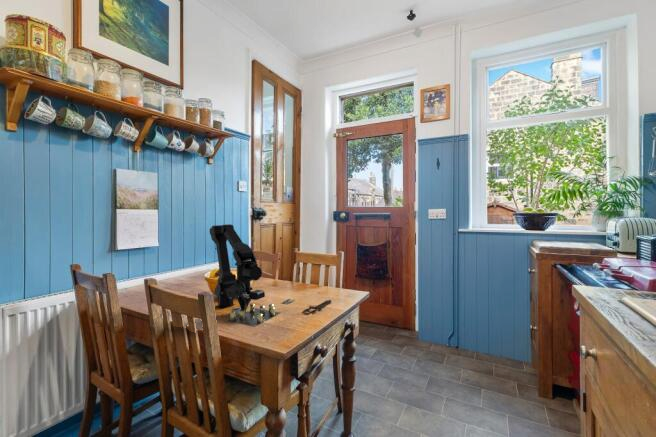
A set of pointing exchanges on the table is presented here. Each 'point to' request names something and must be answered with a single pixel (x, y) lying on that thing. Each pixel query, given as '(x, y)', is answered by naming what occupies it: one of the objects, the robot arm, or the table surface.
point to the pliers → (287, 301)
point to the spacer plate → (254, 315)
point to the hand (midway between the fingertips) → (243, 312)
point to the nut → (236, 310)
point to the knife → (316, 307)
